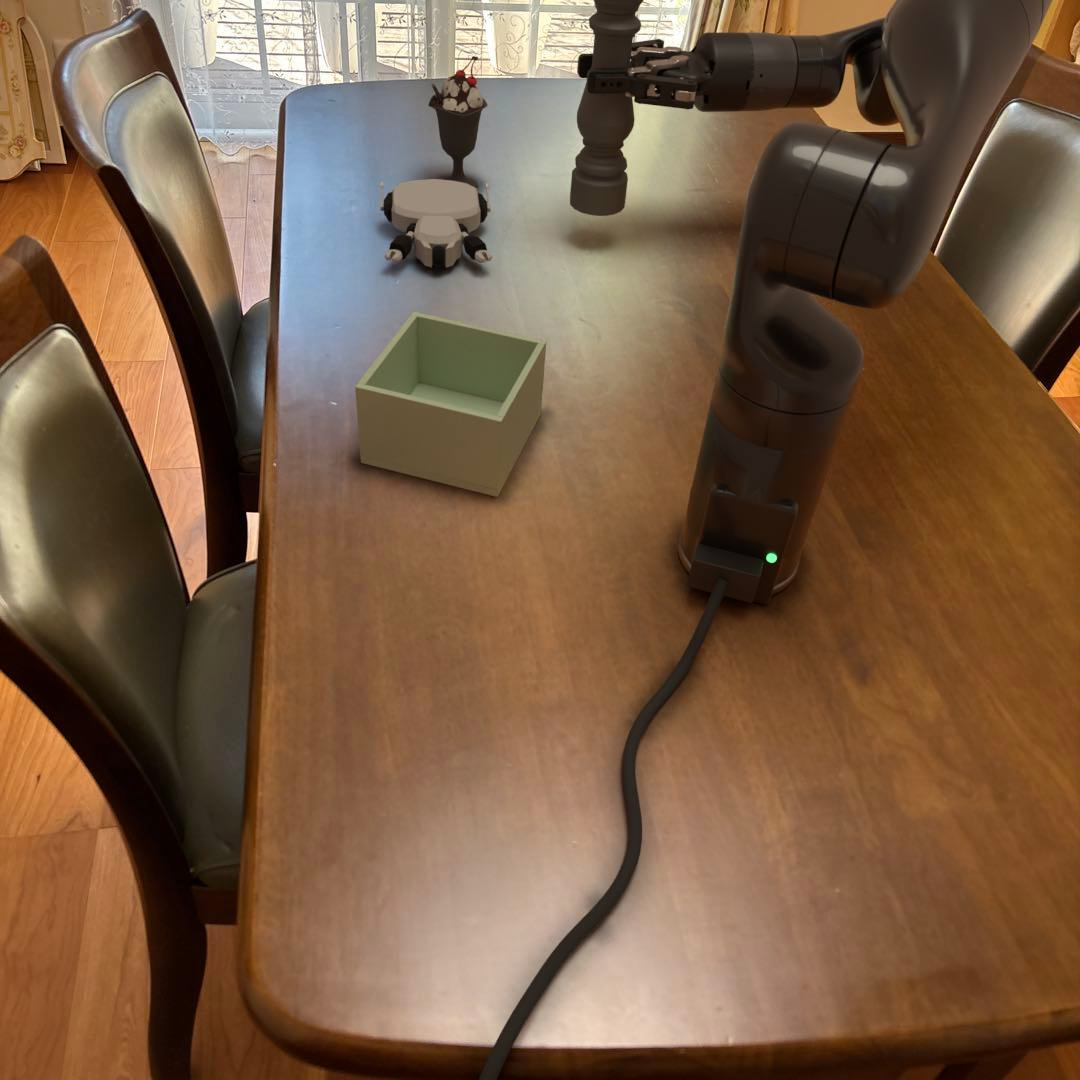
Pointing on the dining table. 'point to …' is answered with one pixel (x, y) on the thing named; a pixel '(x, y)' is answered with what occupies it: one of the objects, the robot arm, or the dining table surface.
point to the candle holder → (605, 115)
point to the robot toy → (436, 221)
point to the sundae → (458, 119)
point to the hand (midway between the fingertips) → (583, 73)
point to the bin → (451, 402)
